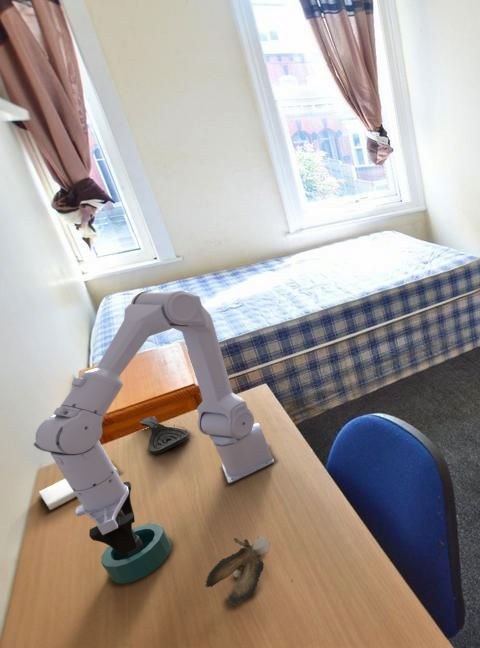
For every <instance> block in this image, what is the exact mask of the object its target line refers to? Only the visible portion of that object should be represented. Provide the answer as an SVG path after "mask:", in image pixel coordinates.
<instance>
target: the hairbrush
mask: <svg viewBox="0 0 480 648" xmlns="http://www.w3.org/2000/svg"><path fill="white" fill-rule="evenodd" d="M139 422H140V423H139V424H140V425H141V426H142V427H148V428H149V429H150V430H151V431H150V432H151V433H150V434H149V435H150V436H149V441H148V448H149V451H150V453H151V454H153V455H157V454H160V453H161V454H162V453H164V452H165V451H167V450H169V449H171V448H173V447H175V446H177V445H179V444H181V443H183V442H184V441H186V440H188V439H190V437H191V434H190V432H188V430H187V429H185V427H183V426H179V427H175V424H173V425H172V424H171V426H167V425H164V424H161V423H159V422H158V420H157V418H156V416H154V415H153V416H149V417H148V416H147V417H145V418H143V419H142V420H141V421H139Z"/></svg>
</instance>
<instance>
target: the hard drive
mask: <svg viewBox="0 0 480 648" xmlns="http://www.w3.org/2000/svg"><path fill="white" fill-rule="evenodd" d="M113 466H114V468H115V469H116V471H117V473H118V475H120V472H119V470H118V468H117V467H116V466H115V465H114V464H113ZM38 493H39V495H40V497H41V499H42V500H43V502H44V503H45V504H46V506H47V507H48V509H49V510H50V511H53V510H54V509H56V508H58V507H60V506H62V505H64V504H65V503H68V502H70V501H71V500H73V499H75V498H77V496H76V495H75V493H74V491H73V490H72V488H71V487H70V485H69V484H68V482H67V480H66V479H65V478H63V479H61V480H59V481H57V482H55V483H54V484H53V483H52V484H51V485H50V486H48V487H47V486H46V488H43V489H42V490H39V491H38Z"/></svg>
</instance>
